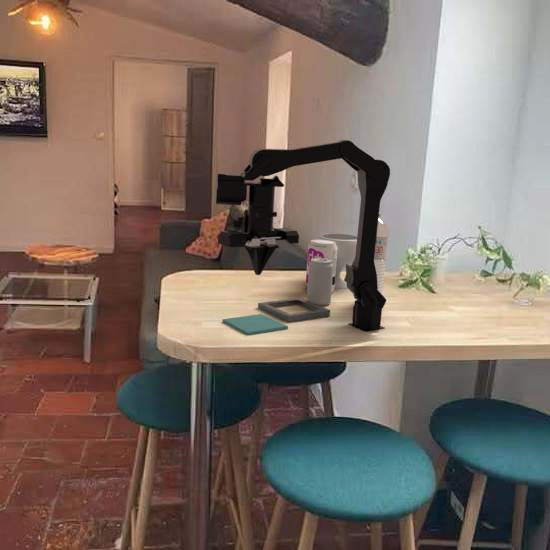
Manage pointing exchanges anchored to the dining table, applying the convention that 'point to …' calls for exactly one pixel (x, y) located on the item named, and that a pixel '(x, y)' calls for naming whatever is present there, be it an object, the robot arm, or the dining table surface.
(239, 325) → the teal mat
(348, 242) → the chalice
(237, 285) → the dining table surface
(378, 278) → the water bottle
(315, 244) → the supplement can
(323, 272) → the beverage can
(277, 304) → the gray square frame
